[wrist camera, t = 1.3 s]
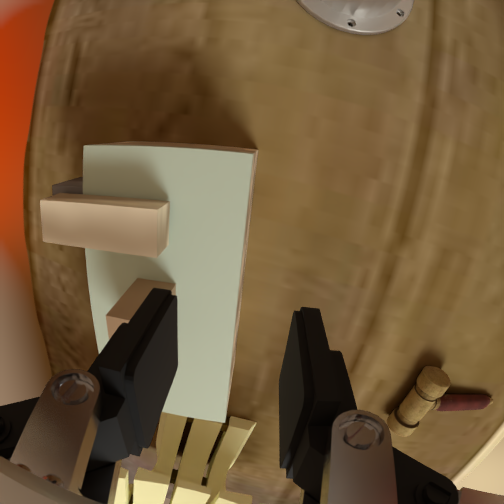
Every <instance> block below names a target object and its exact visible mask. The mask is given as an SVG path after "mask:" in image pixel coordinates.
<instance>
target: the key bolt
mask: <svg viewBox="0 0 504 504" xmlns="http://www.w3.org/2000/svg"><path fill="white" fill-rule="evenodd" d="M40 206H41V222H42V234H43V242H49V243H55V244H62V245H69V246H75V247H82V248H89V249H96V250H103V251H110V252H117V253H124V254H131V255H138V256H145V257H153V258H157V257H158V256H159V255H160V254H161V253H162V252H163V250H164V249H165V248H166V247H167V246H168V245H169V215H170V201H161V200H150V199H138V198H126V197H113V196H100V195H85V194H69V193H58V194H56V195H53V196H50V197H47V198H44V199H42V200H40Z"/></svg>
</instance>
